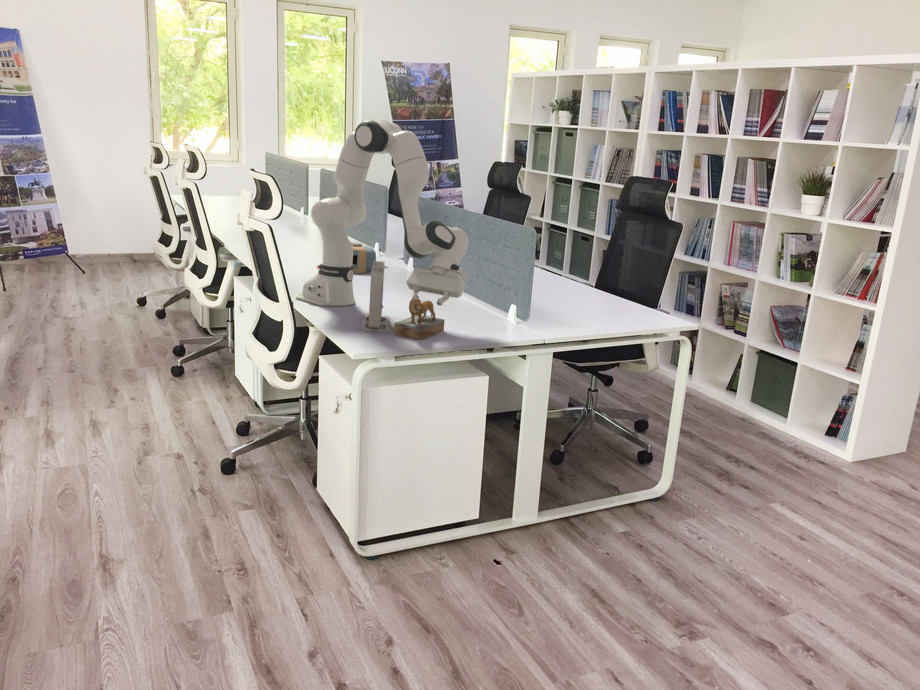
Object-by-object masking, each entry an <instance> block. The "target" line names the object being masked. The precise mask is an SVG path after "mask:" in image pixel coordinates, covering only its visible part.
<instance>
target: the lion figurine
mask: <svg viewBox="0 0 920 690" xmlns="http://www.w3.org/2000/svg"><path fill="white" fill-rule="evenodd" d="M408 311H409V313H410V314H411V315H410V317H412V321H410V323H414V316H417V315H418V324H421V320H424V318H425V317H426V316H427V312H429V314H431V315H430V317H433V318H432V320H435V318H436V313H435V310H434V303H433V302H432V301H431V300H424V301H423V302H422V300H421V299H420V297H419V298H413V299H412V298H411V299H410V300H409V303H408ZM422 315H423V317H422ZM421 317H422V318H421Z"/></svg>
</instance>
